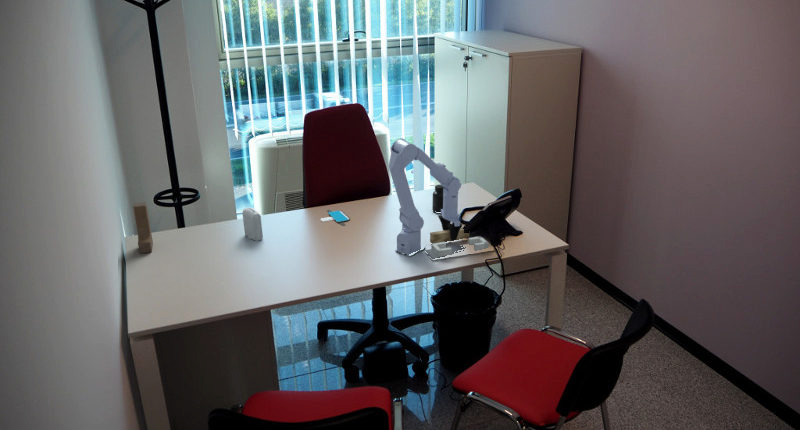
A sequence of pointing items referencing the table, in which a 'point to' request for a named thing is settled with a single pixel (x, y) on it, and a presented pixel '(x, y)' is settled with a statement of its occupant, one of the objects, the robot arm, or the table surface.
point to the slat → (446, 236)
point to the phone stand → (336, 217)
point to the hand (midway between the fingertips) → (449, 236)
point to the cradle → (455, 247)
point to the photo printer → (252, 224)
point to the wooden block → (143, 228)
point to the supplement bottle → (437, 198)
